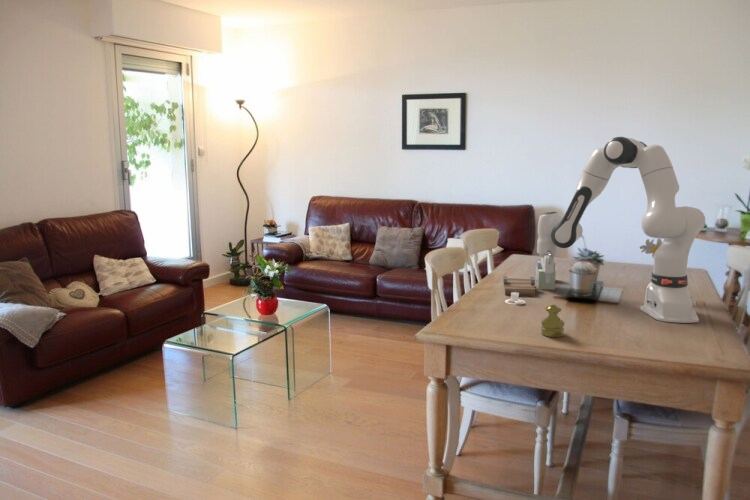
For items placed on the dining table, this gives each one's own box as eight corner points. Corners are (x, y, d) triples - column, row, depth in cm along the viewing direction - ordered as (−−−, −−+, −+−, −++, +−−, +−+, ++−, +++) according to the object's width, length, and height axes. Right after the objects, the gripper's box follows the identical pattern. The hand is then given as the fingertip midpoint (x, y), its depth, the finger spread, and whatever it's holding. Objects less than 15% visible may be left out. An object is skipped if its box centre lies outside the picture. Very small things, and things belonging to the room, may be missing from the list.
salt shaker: (567, 333, 194) (568, 305, 193) (558, 339, 189) (559, 310, 187) (547, 329, 199) (548, 301, 197) (537, 334, 194) (538, 306, 192)
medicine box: (552, 279, 269) (553, 260, 268) (554, 281, 265) (555, 262, 263) (535, 278, 270) (536, 260, 268) (537, 281, 266) (537, 262, 264)
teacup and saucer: (525, 306, 228) (525, 296, 227) (504, 305, 229) (505, 295, 229) (524, 300, 236) (524, 291, 235) (504, 299, 238) (504, 290, 237)
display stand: (535, 296, 241) (536, 283, 240) (503, 295, 243) (504, 282, 242) (532, 285, 258) (532, 273, 257) (502, 284, 261) (503, 272, 260)
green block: (554, 289, 251) (555, 271, 249) (538, 289, 252) (538, 271, 250) (553, 287, 255) (554, 269, 253) (537, 286, 256) (538, 269, 254)
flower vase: (686, 302, 228) (691, 243, 223) (637, 299, 234) (641, 241, 229) (680, 294, 239) (685, 237, 235) (634, 291, 245) (638, 236, 241)
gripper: (558, 253, 239) (556, 286, 242) (552, 245, 259) (551, 274, 262) (542, 253, 241) (541, 285, 243) (538, 244, 260) (537, 274, 263)
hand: (546, 280), depth 253 cm, fingers open, 8 cm apart
